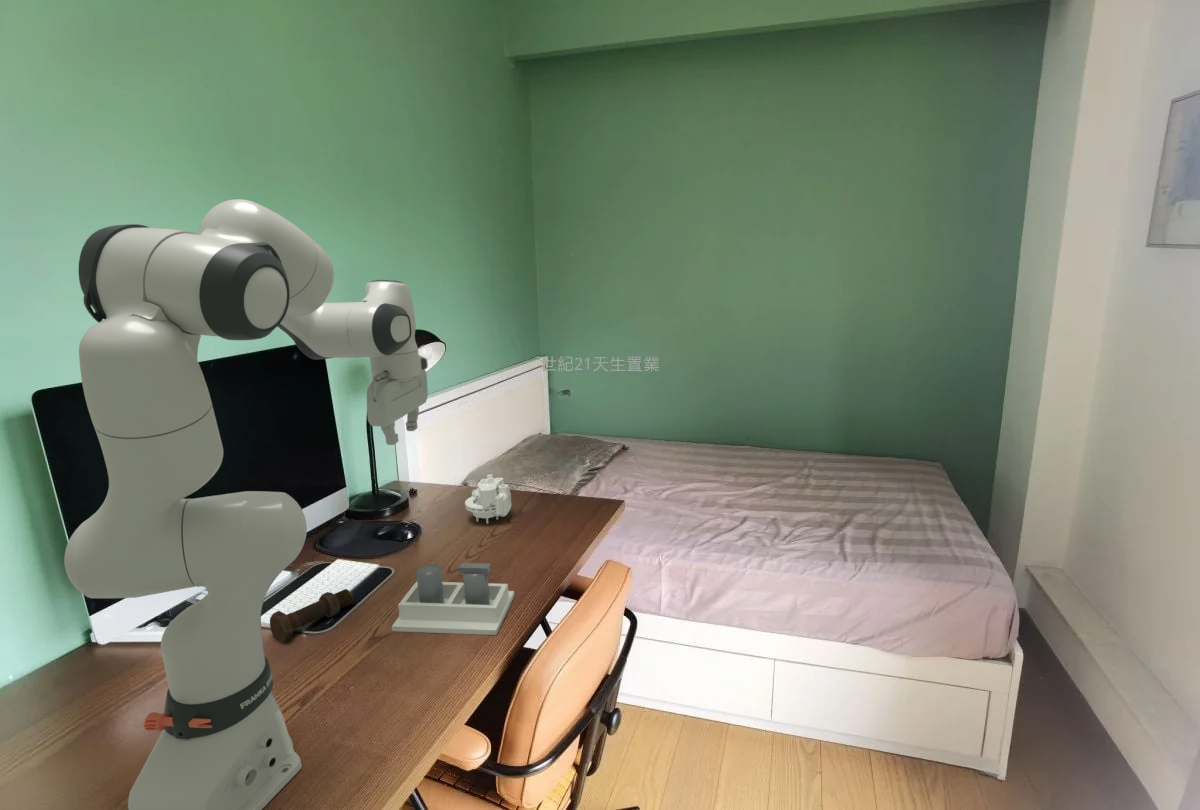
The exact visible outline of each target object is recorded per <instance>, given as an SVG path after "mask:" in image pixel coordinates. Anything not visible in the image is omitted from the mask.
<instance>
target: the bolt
mask: <svg viewBox="0 0 1200 810" xmlns="http://www.w3.org/2000/svg"><path fill="white" fill-rule="evenodd" d="M353 598H354V594H353V593H352V592H351V591H350V590H349V589H346V588H343V590H340V591H338V592H336V593H333V592H330V591H327V592H324V593H322V594H321V595H320V596H319V600H318V601H315V602H313V603H311V604H307V605H306V606H304V607H302V608H300V609H297V610H295V611H292V612H289V613H288V614H286V613H284V612H283V611H281V610H278V611H276V612H273V613H272V614H271V616H270V618H269V628H270V632H271V633H272V635H273V637H274V638H275V639H276V640H277V641H278V642H280V643H286V642H289V641H291V640H292V637H293V633H294V632H295V631H297V630H299V629H300V628H302V627H305V626H306V625H308V624H312V623H313V622H315V621H317V620H319V619H322V618H324V617H326V615H328V616H329V617H331V616H333V615H335V614H337V613H338V614H339V613H340V610H341V609H343V608H345V607H348V606H349V605H352V604H353V602H354V599H353ZM338 614H337V615H338ZM329 617H328V618H329Z"/></svg>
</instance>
